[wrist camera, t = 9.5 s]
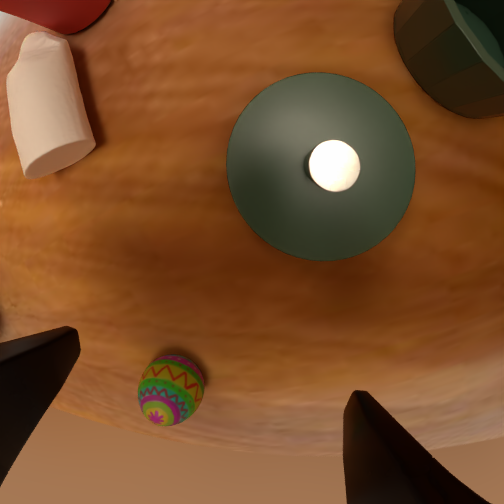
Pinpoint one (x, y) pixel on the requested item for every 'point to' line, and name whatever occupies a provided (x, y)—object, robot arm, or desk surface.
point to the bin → (455, 52)
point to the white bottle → (47, 107)
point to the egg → (170, 390)
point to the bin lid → (320, 166)
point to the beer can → (57, 12)
